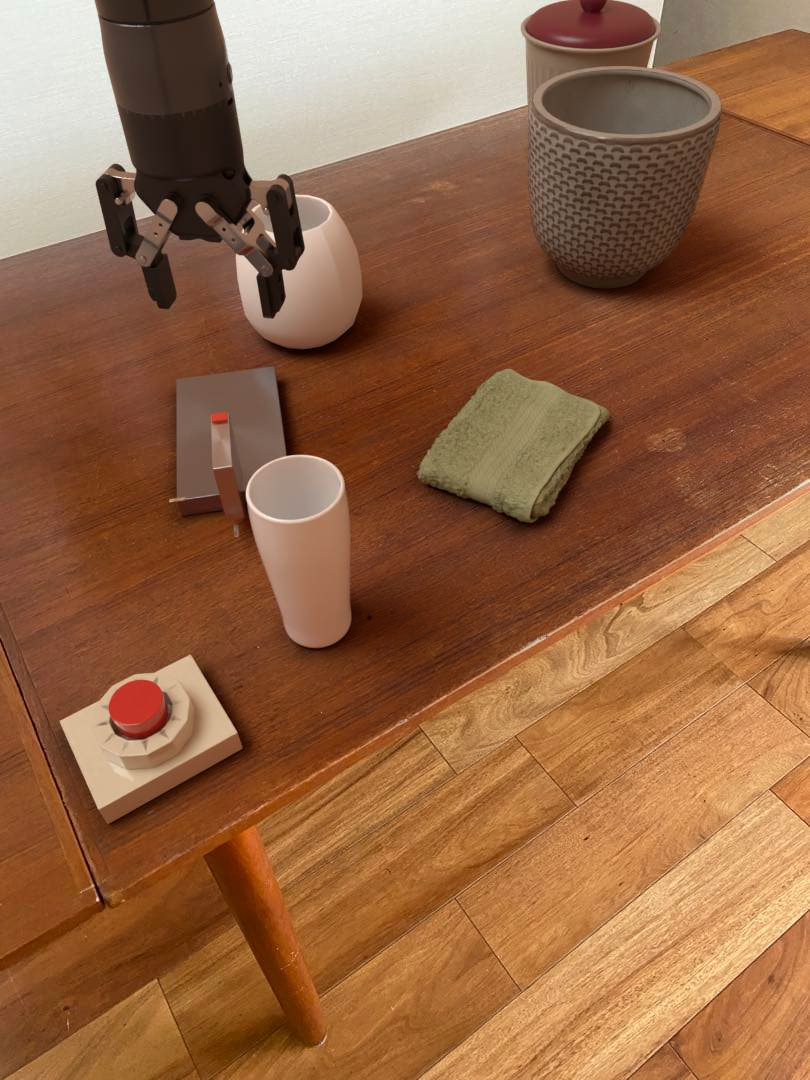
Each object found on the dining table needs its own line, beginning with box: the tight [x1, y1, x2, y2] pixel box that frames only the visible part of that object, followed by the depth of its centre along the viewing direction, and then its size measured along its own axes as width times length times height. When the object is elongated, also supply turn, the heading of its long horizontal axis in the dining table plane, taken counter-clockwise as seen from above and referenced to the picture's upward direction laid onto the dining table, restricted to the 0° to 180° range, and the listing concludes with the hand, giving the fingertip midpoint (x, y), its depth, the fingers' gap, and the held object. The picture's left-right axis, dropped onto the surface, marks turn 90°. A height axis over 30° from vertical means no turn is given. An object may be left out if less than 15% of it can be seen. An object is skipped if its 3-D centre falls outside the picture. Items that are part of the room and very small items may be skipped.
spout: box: [210, 412, 246, 522], centre depth 74 cm, size 7×2×6 cm, turn 10°
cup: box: [235, 194, 364, 350], centre depth 92 cm, size 13×13×14 cm
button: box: [109, 680, 169, 739], centre depth 58 cm, size 4×4×2 cm
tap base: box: [168, 365, 288, 539], centre depth 81 cm, size 24×11×2 cm, turn 10°
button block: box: [59, 654, 243, 825], centre depth 60 cm, size 10×8×4 cm
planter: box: [527, 66, 723, 290], centre depth 97 cm, size 20×20×19 cm
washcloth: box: [416, 368, 611, 524], centre depth 80 cm, size 13×18×3 cm
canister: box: [520, 0, 662, 120], centre depth 117 cm, size 18×18×21 cm
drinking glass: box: [246, 454, 353, 649], centre depth 63 cm, size 7×7×15 cm
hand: (220, 308), depth 67 cm, fingers open, 8 cm apart
